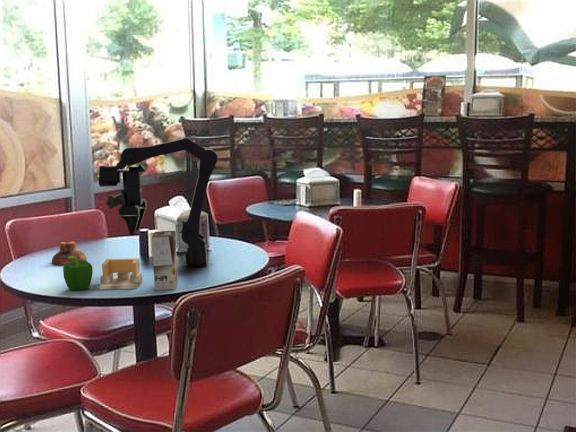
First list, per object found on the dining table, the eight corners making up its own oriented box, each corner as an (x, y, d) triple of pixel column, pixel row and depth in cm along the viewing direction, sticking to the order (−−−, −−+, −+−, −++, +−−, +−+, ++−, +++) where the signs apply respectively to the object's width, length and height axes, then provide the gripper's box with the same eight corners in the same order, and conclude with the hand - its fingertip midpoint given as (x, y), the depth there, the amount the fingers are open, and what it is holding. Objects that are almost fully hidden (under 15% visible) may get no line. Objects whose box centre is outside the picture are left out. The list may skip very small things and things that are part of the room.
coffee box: (176, 289, 209) (173, 236, 206) (154, 290, 208) (151, 236, 205) (178, 281, 218) (175, 230, 215) (157, 282, 217) (154, 230, 214)
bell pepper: (96, 284, 216) (94, 252, 215) (89, 291, 208) (87, 258, 206) (69, 285, 216) (66, 253, 214) (61, 292, 208) (58, 259, 206)
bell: (45, 265, 244) (43, 244, 242) (63, 257, 255) (62, 237, 254) (75, 266, 241) (74, 245, 240) (93, 258, 252) (91, 238, 251)
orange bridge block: (139, 270, 220) (139, 258, 219) (136, 276, 213) (135, 263, 212) (107, 271, 219) (106, 259, 219) (102, 277, 213) (101, 264, 212)
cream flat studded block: (144, 278, 223) (143, 268, 222) (137, 288, 211) (137, 278, 210) (107, 279, 222) (107, 269, 222) (99, 289, 210) (98, 279, 210)
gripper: (112, 182, 241) (115, 228, 243) (100, 190, 222) (103, 238, 225) (146, 182, 241) (148, 227, 244) (136, 189, 223) (139, 237, 225)
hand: (134, 232), depth 234 cm, fingers open, 9 cm apart
